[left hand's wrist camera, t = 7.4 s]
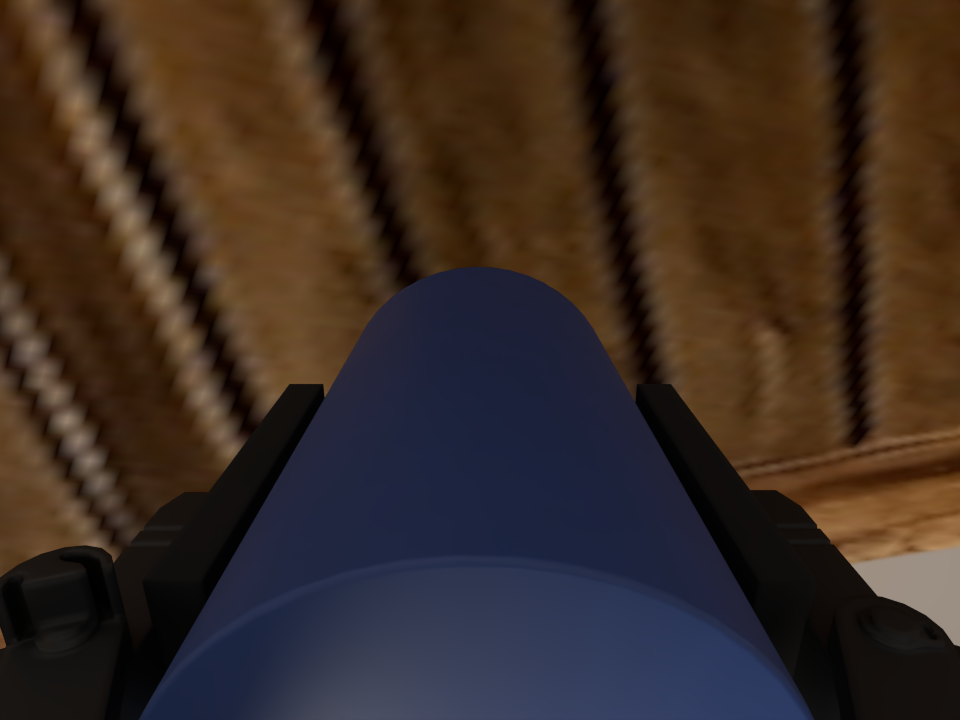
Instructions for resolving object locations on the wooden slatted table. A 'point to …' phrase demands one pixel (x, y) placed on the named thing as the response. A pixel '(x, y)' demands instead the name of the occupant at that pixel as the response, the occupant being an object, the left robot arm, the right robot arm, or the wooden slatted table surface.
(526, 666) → the blue cylinder
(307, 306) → the wooden slatted table surface
